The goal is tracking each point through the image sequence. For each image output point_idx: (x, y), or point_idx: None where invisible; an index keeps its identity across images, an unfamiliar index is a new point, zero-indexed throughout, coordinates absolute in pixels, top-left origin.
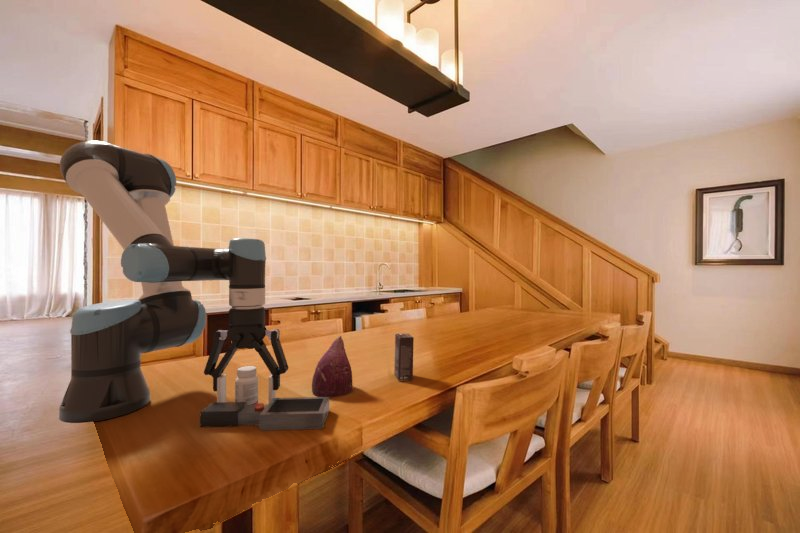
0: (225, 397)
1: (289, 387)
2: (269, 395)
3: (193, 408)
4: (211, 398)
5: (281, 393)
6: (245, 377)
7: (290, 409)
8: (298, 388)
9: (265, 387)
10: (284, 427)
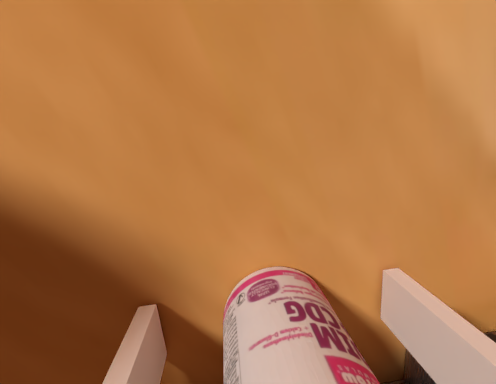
0: (148, 332)
1: (424, 26)
2: (424, 363)
3: (29, 364)
4: (14, 243)
5: (395, 141)
6: None
7: None
8: (481, 47)
9: (261, 26)
10: None
